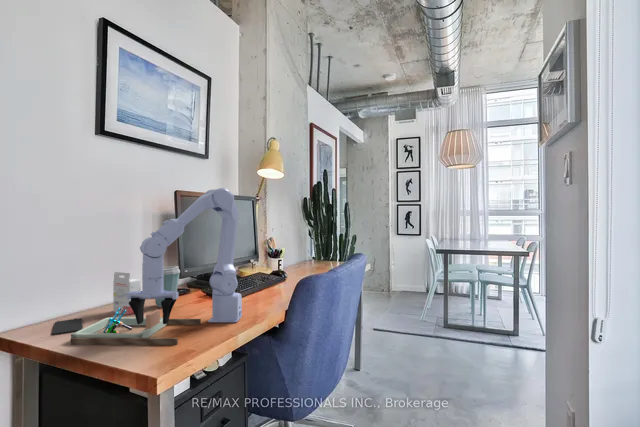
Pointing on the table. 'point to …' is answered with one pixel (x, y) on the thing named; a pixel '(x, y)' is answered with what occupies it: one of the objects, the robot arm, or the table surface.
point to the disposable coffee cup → (169, 281)
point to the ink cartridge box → (123, 292)
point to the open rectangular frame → (151, 322)
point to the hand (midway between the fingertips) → (153, 323)
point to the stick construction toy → (116, 323)
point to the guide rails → (136, 340)
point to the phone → (67, 326)
